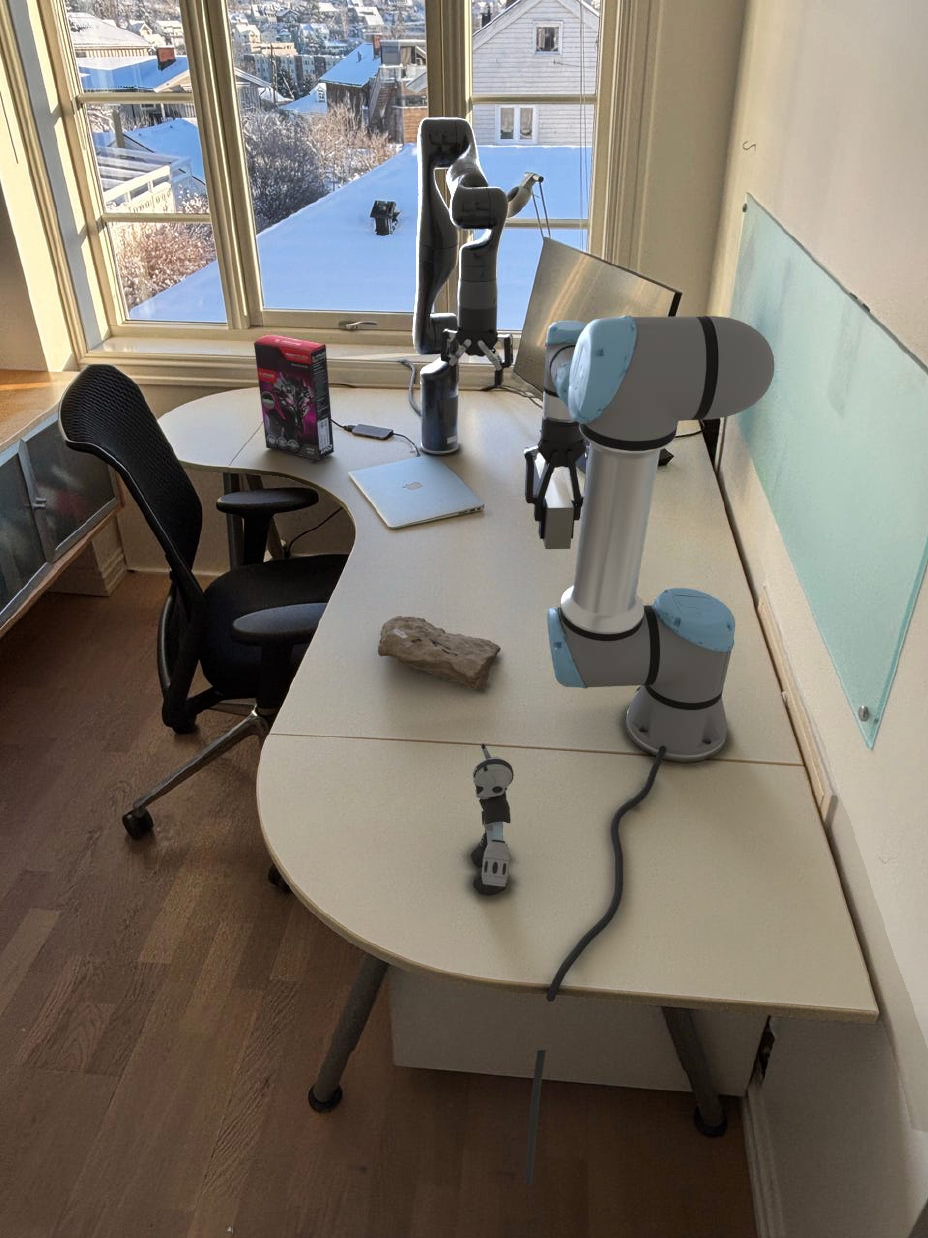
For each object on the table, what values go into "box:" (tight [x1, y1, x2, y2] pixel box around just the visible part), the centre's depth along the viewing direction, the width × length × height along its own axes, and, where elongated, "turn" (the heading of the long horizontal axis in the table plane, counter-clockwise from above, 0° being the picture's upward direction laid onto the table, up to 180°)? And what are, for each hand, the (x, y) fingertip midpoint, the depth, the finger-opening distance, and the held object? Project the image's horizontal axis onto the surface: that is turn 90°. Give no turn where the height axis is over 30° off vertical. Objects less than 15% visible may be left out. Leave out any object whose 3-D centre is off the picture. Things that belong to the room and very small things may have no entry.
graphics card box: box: [253, 333, 335, 461], centre depth 223 cm, size 17×7×27 cm, turn 62°
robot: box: [470, 743, 515, 896], centre depth 114 cm, size 20×5×20 cm, turn 3°
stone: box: [377, 615, 502, 691], centre depth 155 cm, size 21×15×6 cm
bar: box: [533, 453, 574, 550], centre depth 176 cm, size 25×5×8 cm, turn 3°
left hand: (476, 384), depth 184 cm, fingers open, 8 cm apart
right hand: (555, 535), depth 171 cm, fingers closed on bar, 5 cm apart
